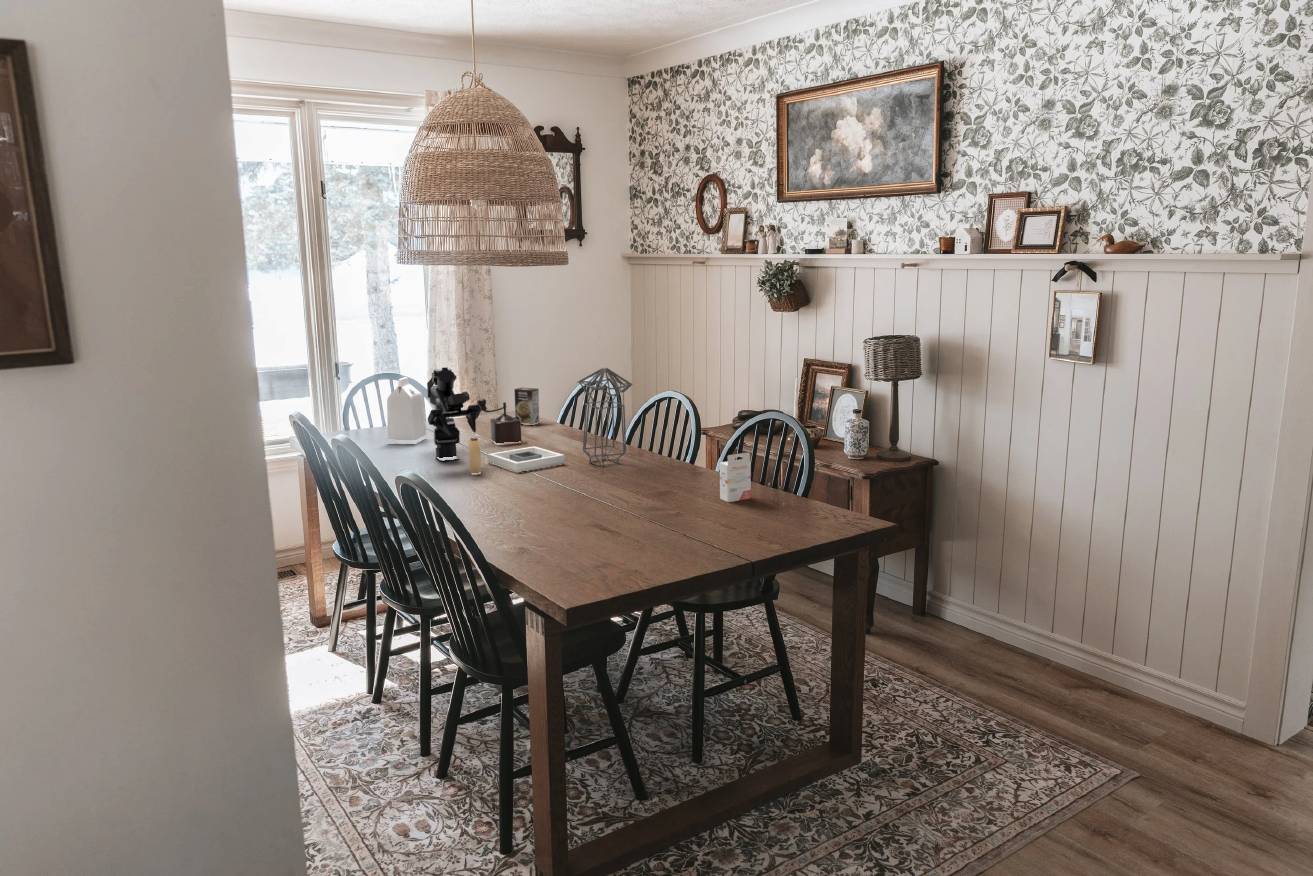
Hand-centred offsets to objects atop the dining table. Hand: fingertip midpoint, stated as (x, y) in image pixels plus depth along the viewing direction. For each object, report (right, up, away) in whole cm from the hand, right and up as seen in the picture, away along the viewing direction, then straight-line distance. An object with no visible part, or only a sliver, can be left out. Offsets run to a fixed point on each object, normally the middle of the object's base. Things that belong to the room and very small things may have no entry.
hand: (463, 433), depth 319 cm
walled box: (+21, -11, +10) cm, 26 cm away
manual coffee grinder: (+5, -4, +47) cm, 48 cm away
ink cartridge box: (+92, -21, -38) cm, 102 cm away
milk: (-34, -3, +52) cm, 62 cm away
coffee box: (+10, +4, +86) cm, 87 cm away
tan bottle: (+5, -14, -4) cm, 15 cm away
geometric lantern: (+50, -11, +10) cm, 52 cm away
